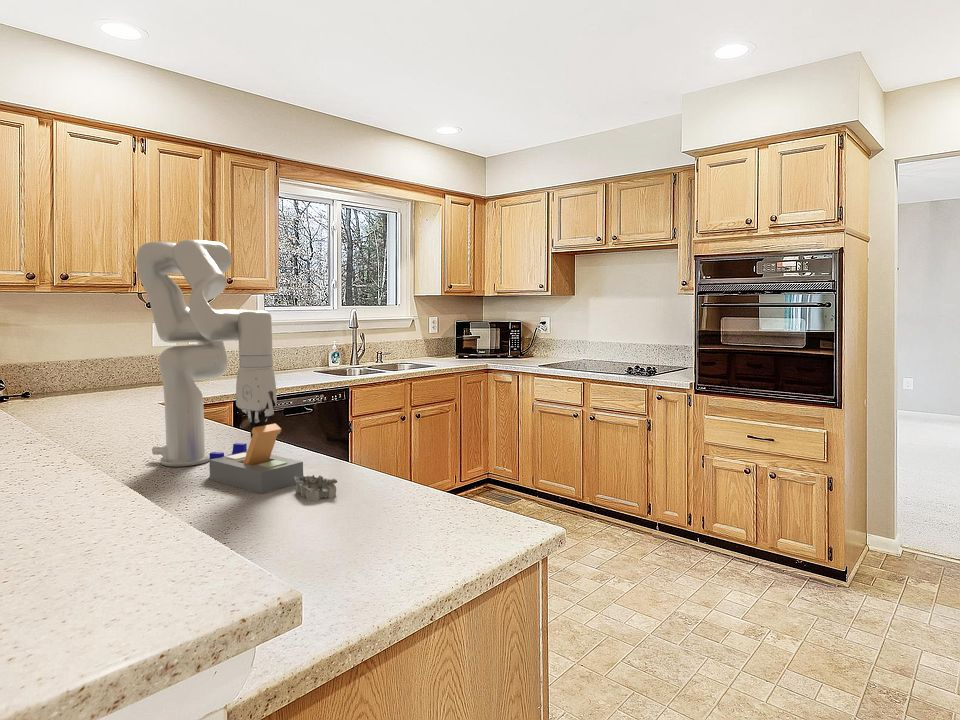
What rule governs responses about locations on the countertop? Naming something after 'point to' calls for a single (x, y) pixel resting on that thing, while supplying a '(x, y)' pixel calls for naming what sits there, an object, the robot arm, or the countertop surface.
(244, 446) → the cable clip
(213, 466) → the breaker box
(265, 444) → the breaker lever
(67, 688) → the countertop surface
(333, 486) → the egg carton
